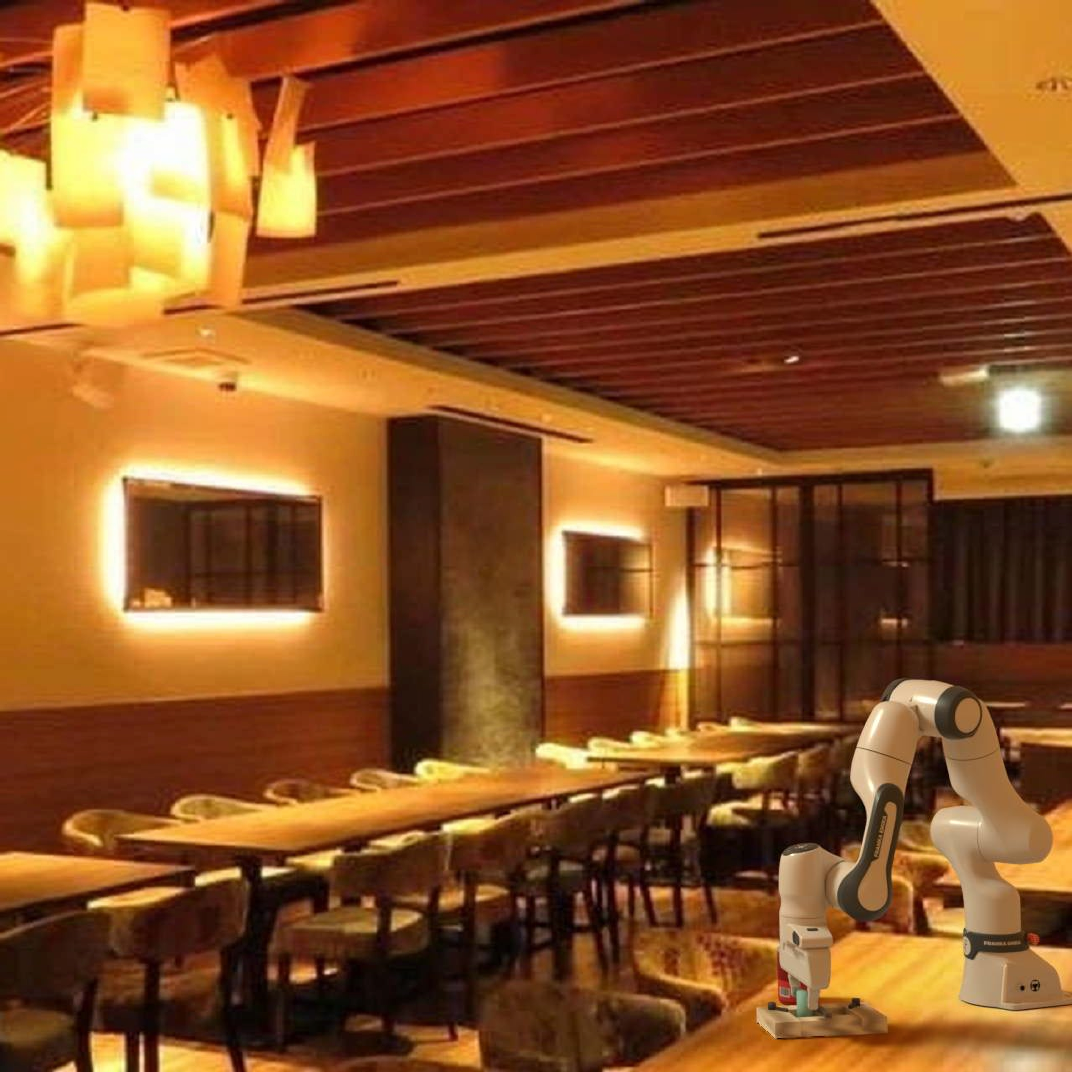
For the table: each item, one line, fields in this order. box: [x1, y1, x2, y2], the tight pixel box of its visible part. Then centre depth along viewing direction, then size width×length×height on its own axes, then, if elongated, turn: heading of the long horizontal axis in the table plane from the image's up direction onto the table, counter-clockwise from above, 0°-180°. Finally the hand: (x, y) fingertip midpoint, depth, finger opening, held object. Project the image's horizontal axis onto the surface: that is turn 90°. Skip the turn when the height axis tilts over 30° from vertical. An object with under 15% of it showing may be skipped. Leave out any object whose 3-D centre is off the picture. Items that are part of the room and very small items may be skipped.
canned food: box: [776, 945, 807, 1006], centre depth 320 cm, size 8×8×11 cm
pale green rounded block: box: [797, 990, 813, 1017], centre depth 299 cm, size 3×3×7 cm
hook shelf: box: [756, 997, 889, 1040], centre depth 299 cm, size 22×12×5 cm, turn 99°
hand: (804, 1002), depth 299 cm, fingers open, 8 cm apart
